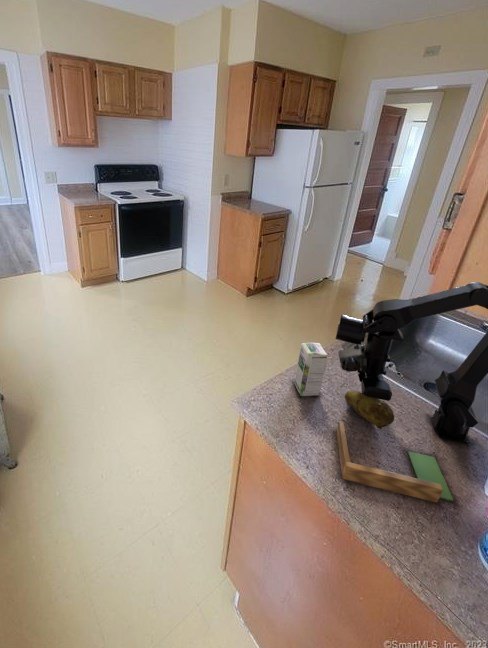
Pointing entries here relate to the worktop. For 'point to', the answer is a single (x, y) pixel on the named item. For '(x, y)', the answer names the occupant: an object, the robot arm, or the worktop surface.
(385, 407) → the olive green tapered piece
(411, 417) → the worktop surface
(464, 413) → the robot arm
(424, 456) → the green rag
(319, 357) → the syrup box
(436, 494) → the corner guard
